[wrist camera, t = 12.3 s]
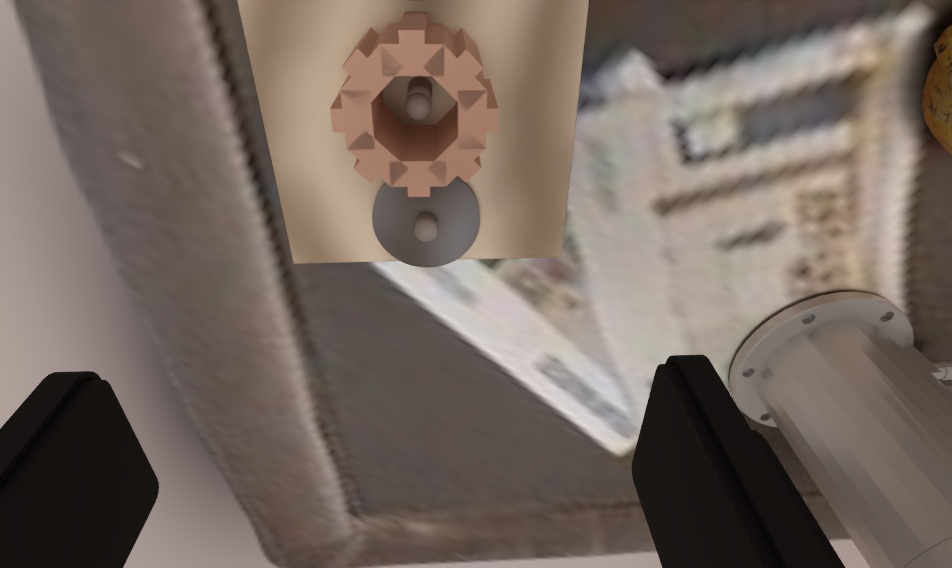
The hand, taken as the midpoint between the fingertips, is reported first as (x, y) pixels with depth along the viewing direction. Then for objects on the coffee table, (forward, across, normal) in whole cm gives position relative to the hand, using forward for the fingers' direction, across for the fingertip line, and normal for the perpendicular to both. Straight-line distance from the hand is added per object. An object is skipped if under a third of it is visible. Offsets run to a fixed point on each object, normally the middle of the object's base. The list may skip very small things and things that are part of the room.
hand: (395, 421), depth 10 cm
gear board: (+22, 0, 0) cm, 22 cm away
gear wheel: (+21, 0, 0) cm, 21 cm away
